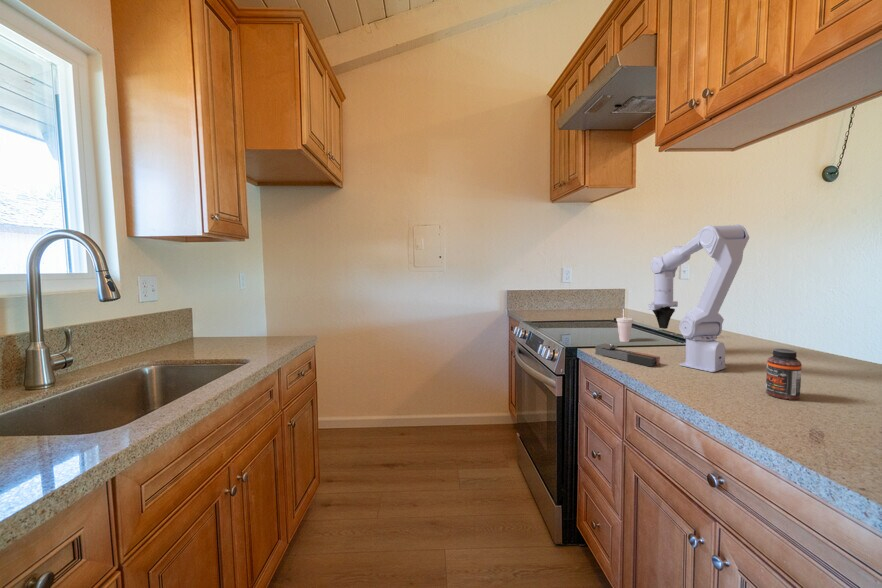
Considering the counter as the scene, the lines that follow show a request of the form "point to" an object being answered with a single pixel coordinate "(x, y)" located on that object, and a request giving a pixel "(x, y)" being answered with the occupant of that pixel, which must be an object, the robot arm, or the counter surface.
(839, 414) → the counter surface
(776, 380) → the supplement bottle
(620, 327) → the smoothie
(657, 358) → the tong arm
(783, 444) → the counter surface
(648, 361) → the frame
